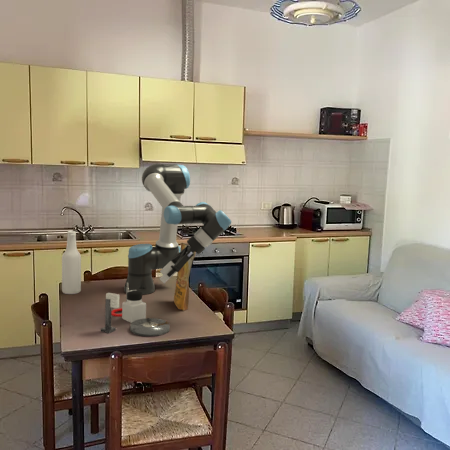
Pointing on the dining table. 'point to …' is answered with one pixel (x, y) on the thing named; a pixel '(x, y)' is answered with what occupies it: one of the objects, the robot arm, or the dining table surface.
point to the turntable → (149, 327)
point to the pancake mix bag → (183, 284)
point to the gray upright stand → (110, 302)
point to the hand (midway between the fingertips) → (161, 277)
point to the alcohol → (71, 266)
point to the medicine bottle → (133, 307)
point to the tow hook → (120, 308)
